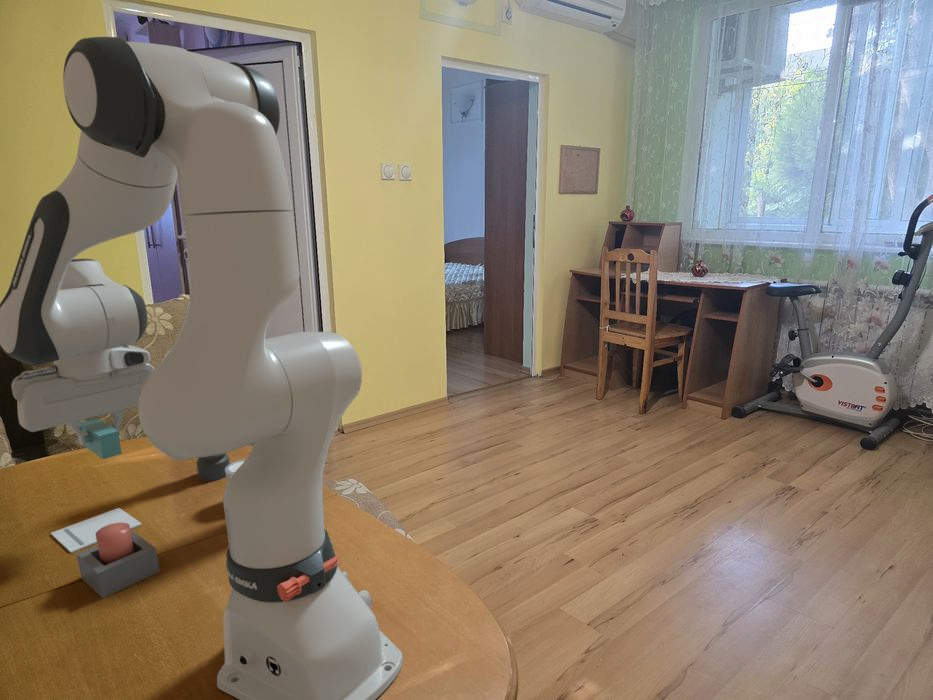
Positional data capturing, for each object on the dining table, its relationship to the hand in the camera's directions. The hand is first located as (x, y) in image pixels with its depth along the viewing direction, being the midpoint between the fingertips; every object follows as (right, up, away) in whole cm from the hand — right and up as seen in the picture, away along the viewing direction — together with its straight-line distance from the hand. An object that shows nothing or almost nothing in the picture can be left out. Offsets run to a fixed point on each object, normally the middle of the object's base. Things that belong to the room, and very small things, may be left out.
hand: (99, 439), depth 100 cm
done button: (+9, -17, -10) cm, 21 cm away
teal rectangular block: (0, -2, 0) cm, 2 cm away
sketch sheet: (-3, -16, +4) cm, 17 cm away
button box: (+9, -19, -9) cm, 23 cm away
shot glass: (+20, -14, +13) cm, 28 cm away
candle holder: (+9, -11, +25) cm, 28 cm away
